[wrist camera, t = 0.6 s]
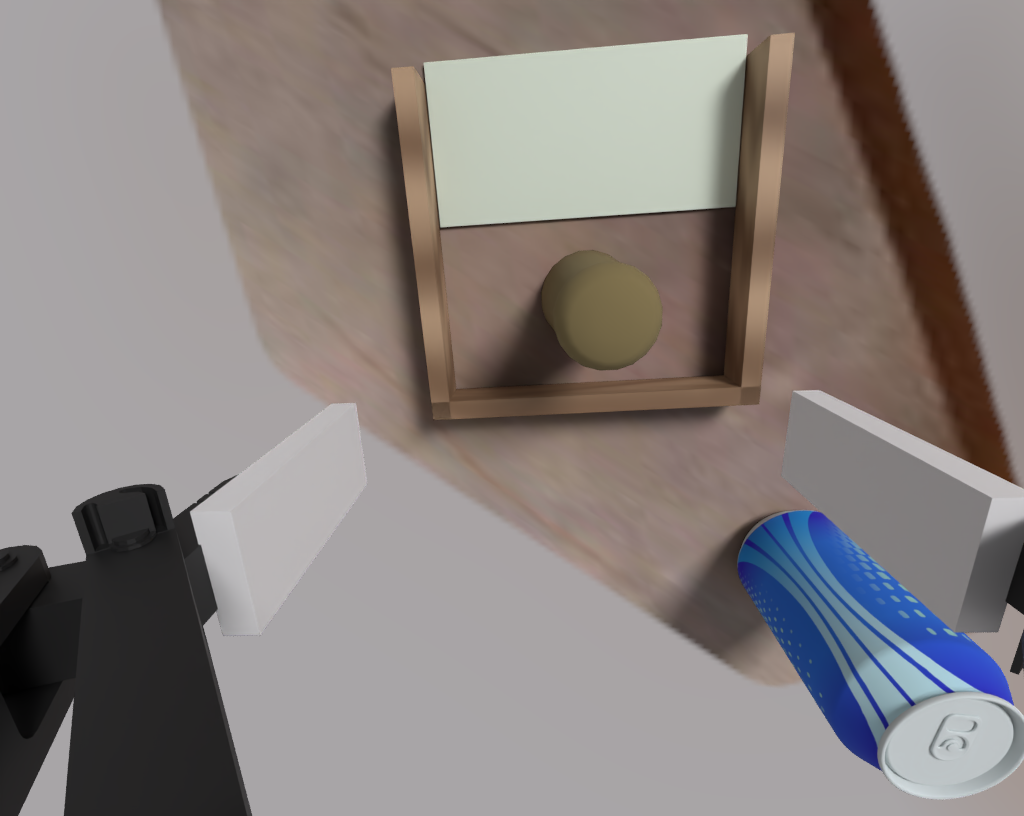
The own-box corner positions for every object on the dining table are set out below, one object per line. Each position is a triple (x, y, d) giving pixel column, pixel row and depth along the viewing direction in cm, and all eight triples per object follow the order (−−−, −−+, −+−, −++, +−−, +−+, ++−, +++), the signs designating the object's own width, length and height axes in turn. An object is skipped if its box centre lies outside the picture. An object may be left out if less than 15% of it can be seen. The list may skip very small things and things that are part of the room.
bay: (404, 85, 29) (391, 68, 26) (768, 54, 28) (794, 32, 25) (441, 406, 35) (433, 420, 33) (740, 391, 34) (759, 404, 31)
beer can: (865, 550, 38) (1088, 755, 23) (773, 612, 40) (922, 837, 25) (800, 479, 36) (993, 649, 21) (708, 548, 38) (824, 746, 23)
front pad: (424, 63, 29) (423, 62, 29) (746, 35, 28) (747, 34, 28) (441, 227, 32) (440, 227, 31) (734, 206, 31) (735, 206, 30)
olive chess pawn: (535, 337, 34) (538, 379, 23) (546, 245, 32) (555, 244, 21) (623, 347, 34) (665, 393, 23) (640, 255, 32) (693, 260, 21)
